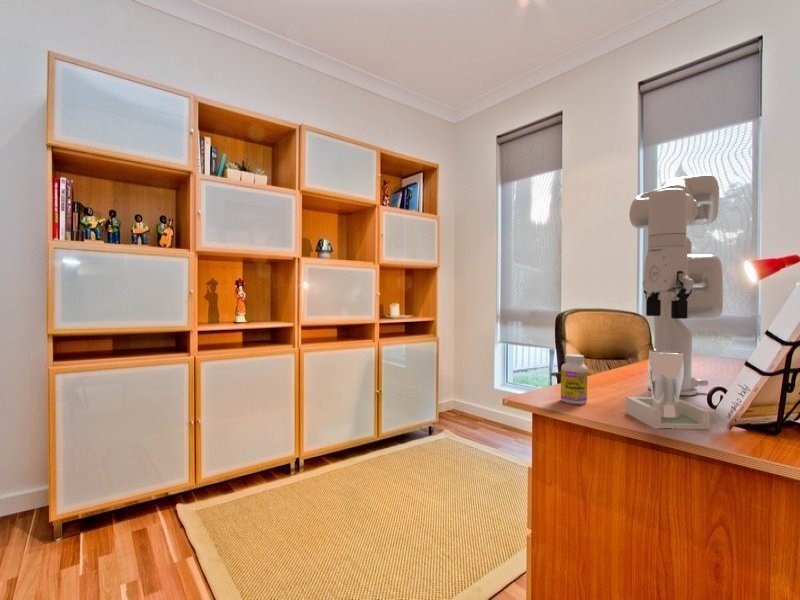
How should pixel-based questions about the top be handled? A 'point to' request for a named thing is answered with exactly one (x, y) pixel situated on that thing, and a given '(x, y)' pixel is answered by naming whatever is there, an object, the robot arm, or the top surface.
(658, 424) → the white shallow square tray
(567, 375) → the supplement bottle
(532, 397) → the top surface
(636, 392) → the top surface
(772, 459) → the top surface
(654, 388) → the beer glass
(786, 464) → the top surface
